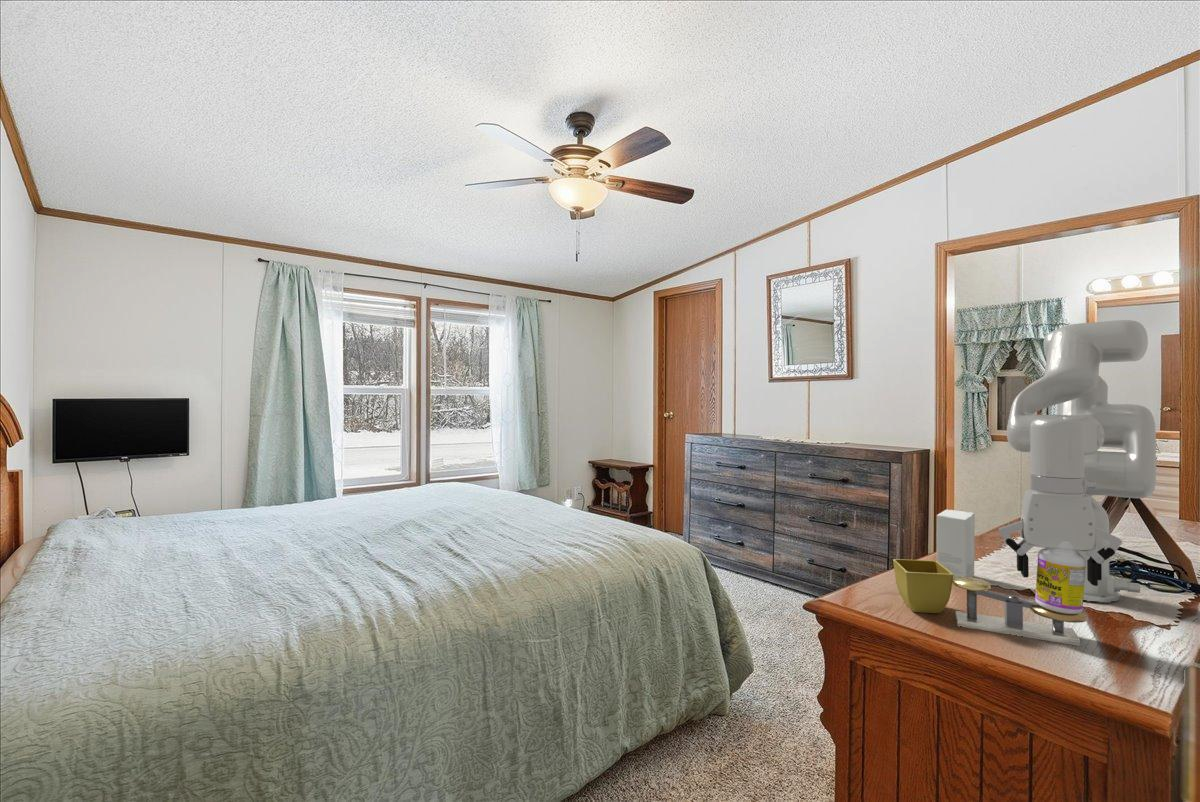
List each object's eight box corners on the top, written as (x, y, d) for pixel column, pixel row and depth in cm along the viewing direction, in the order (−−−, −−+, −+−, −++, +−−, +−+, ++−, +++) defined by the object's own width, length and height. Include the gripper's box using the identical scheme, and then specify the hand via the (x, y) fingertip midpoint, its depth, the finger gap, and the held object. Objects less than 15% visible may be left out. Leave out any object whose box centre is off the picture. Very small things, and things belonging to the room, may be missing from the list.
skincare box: (946, 570, 137) (945, 508, 137) (977, 576, 132) (976, 512, 132) (935, 578, 131) (934, 514, 131) (967, 584, 126) (966, 518, 126)
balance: (1080, 633, 100) (1080, 589, 100) (1093, 651, 93) (1093, 604, 93) (952, 613, 110) (951, 573, 110) (955, 628, 103) (954, 585, 103)
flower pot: (955, 619, 108) (954, 573, 108) (906, 616, 110) (906, 571, 109) (936, 602, 116) (936, 560, 116) (892, 599, 118) (892, 558, 118)
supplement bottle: (1025, 600, 102) (1029, 532, 102) (1058, 600, 103) (1062, 533, 102) (1058, 616, 95) (1062, 543, 95) (1093, 615, 96) (1097, 543, 95)
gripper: (1113, 485, 98) (1114, 580, 98) (995, 479, 106) (996, 566, 106) (1128, 492, 91) (1129, 594, 91) (1001, 485, 100) (1002, 578, 100)
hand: (1057, 579), depth 99 cm, fingers open, 9 cm apart
